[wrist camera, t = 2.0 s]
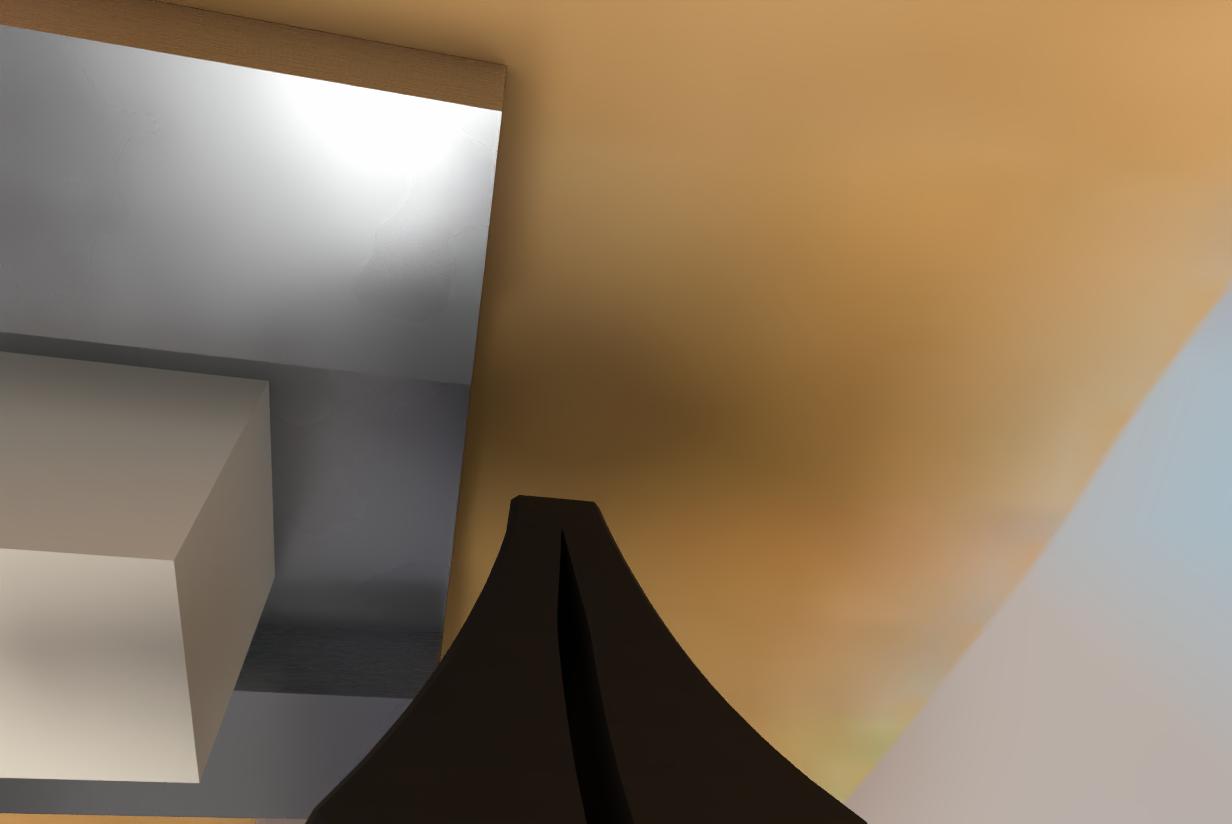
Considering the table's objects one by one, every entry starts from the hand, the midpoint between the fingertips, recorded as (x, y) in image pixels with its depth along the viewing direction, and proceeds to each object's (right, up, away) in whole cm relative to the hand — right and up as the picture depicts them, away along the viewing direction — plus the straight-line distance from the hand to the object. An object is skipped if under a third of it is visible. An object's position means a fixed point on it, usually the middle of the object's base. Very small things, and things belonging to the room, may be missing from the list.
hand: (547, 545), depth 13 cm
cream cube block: (-6, +1, 0) cm, 7 cm away
